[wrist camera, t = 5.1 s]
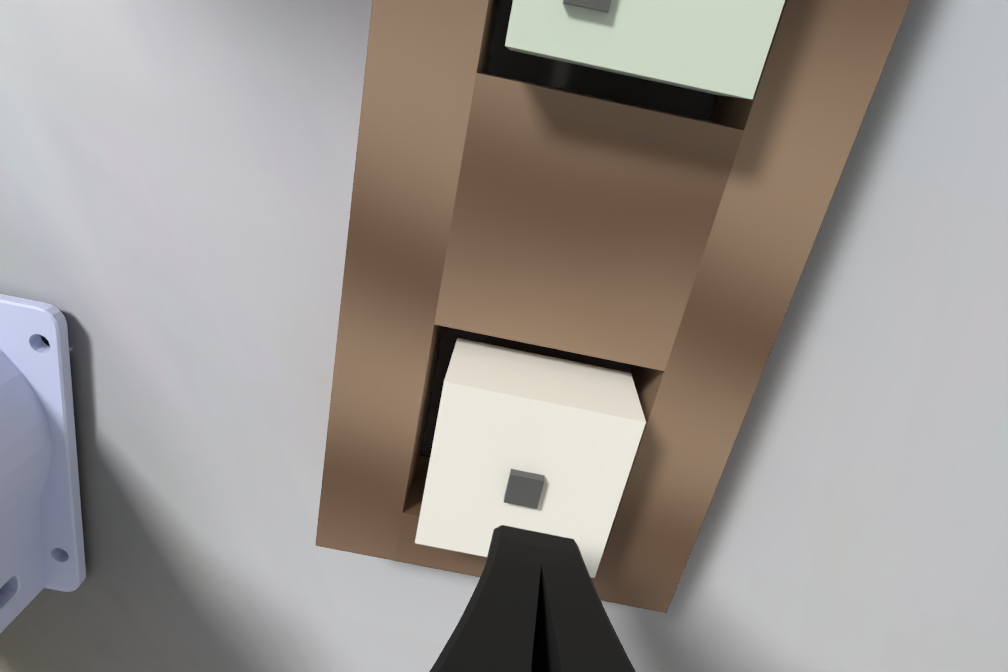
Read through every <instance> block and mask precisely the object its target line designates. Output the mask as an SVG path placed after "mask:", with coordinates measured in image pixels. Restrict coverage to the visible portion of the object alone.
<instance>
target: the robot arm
mask: <svg viewBox="0 0 1008 672" xmlns="http://www.w3.org/2000/svg"><path fill="white" fill-rule="evenodd" d="M40 335H42V336H44V337H45V338H46V339H47V340H48V341H49V344H50V346H48V345H46V344H45V343H44V342H43V341H42V339H41V336H40ZM85 578H86V567H85V554H84V541H83V527H82V514H81V501H80V488H79V474H78V461H77V448H76V435H75V422H74V408H73V395H72V382H71V369H70V355H69V342H68V329H67V322H66V319H65V317H64V315H63V314H62V313H61V311H60V310H58V309H57V308H56V307H55V306H53V305H50V304H47V303H44V302H39V301H34V300H29V299H24V298H19V297H14V296H9V295H4V294H0V633H1V632H2V631H3V630H4V629H5V628H6V627H7V626H8V625H9V624H10V623H11V622H12V621H13V620H14V619H15V618H16V617H17V616H18V615H19V614H20V613H21V612H22V611H23V610H24V608H25V607H26V606H27V605H28V604H29V603H30V602H31V601H32V600H33V599H34V598H35V597H36V596H37V595H38V594H39V593H40V592H41V591H42V590H43V589H44V588H47V589H52V590H58V591H63V592H71V591H74V590H76V589H77V588H78V587H79V586H80V585H81V584H82V583H83V582H84V580H85ZM430 672H635V670H634V668H633V666H632V664H631V662H630V660H629V658H628V656H627V654H626V652H625V650H624V648H623V646H622V644H621V642H620V640H619V638H618V636H617V634H616V632H615V630H614V628H613V626H612V624H611V622H610V620H609V618H608V616H607V614H606V612H605V609H604V607H603V605H602V603H601V601H600V598H599V596H598V594H597V592H596V589H595V587H594V585H593V582H592V580H591V578H590V575H589V573H588V570H587V568H586V565H585V563H584V560H583V558H582V555H581V552H580V550H579V547H578V545H577V544H576V542H575V541H574V539H571V538H566V537H560V536H555V535H550V534H545V533H540V532H535V531H530V530H525V529H520V528H515V527H510V526H505V525H501V526H499V527H497V528H495V529H494V531H493V535H492V539H491V543H490V547H489V551H488V556H487V560H486V564H485V567H484V570H483V572H482V575H481V577H480V580H479V582H478V584H477V587H476V589H475V591H474V593H473V595H472V597H471V599H470V601H469V603H468V605H467V607H466V609H465V611H464V613H463V615H462V617H461V619H460V621H459V623H458V625H457V626H456V628H455V630H454V632H453V633H452V635H451V637H450V638H449V640H448V642H447V644H446V645H445V647H444V649H443V651H442V652H441V654H440V656H439V657H438V659H437V661H436V662H435V664H434V666H433V667H432V669H431V670H430Z"/></svg>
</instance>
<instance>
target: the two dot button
mask: <svg viewBox="0 0 1008 672" xmlns="http://www.w3.org/2000/svg"><path fill="white" fill-rule="evenodd" d="M784 2H785V0H513V3H512V8H511V14H510V19H509V25H508V30H507V36H506V42H505V46H506V47H507V48H508V49H509V50H511V51H516V52H520V53H525V54H529V55H534V56H539V57H543V58H548V59H553V60H557V61H562V62H566V63H571V64H576V65H580V66H585V67H589V68H594V69H599V70H603V71H608V72H613V73H617V74H622V75H626V76H631V77H636V78H640V79H645V80H649V81H654V82H659V83H663V84H668V85H673V86H677V87H682V88H686V89H691V90H696V91H700V92H705V93H709V94H714V95H720V96H728V97H737V98H745V99H753V96H754V93H755V90H756V87H757V84H758V81H759V78H760V75H761V72H762V69H763V66H764V63H765V60H766V57H767V54H768V51H769V48H770V45H771V42H772V39H773V36H774V33H775V30H776V27H777V24H778V21H779V18H780V15H781V11H782V8H783V5H784Z"/></svg>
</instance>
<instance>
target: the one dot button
mask: <svg viewBox="0 0 1008 672" xmlns="http://www.w3.org/2000/svg"><path fill="white" fill-rule="evenodd" d="M645 424H646V420H645V417H644V414H643V411H642V407H641V404H640V401H639V398H638V394H637V391H636V388H635V385H634V381H633V378H632V375H631V373H629V372H624V371H619V370H614V369H609V368H604V367H599V366H594V365H589V364H584V363H579V362H574V361H570V360H565V359H560V358H555V357H550V356H545V355H540V354H535V353H530V352H525V351H520V350H515V349H510V348H505V347H501V346H496V345H491V344H486V343H481V342H476V341H471V340H466V339H461V338H457V341H456V344H455V347H454V350H453V354H452V357H451V360H450V363H449V367H448V370H447V373H446V376H445V380H444V384H443V389H442V395H441V400H440V406H439V411H438V417H437V422H436V428H435V433H434V439H433V444H432V450H431V456H430V461H429V467H428V472H427V478H426V483H425V489H424V494H423V500H422V505H421V511H420V516H419V522H418V527H417V533H416V538H415V543H416V544H421V545H427V546H432V547H437V548H442V549H447V550H453V551H458V552H463V553H468V554H473V555H478V556H484V557H487V556H488V551H489V547H490V543H491V539H492V535H493V531H494V529H495V528H497V527H499V526H501V525H505V526H510V527H515V528H520V529H525V530H530V531H535V532H540V533H545V534H550V535H555V536H560V537H566V538H571V539H574V541H575V542H576V544H577V545H578V547H579V550H580V552H581V555H582V558H583V560H584V563H585V565H586V568H587V570H588V573H589V575H590V577H592V578H595V576H596V572H597V569H598V566H599V563H600V560H601V557H602V554H603V551H604V548H605V545H606V542H607V539H608V536H609V533H610V530H611V527H612V524H613V521H614V518H615V515H616V512H617V509H618V506H619V503H620V500H621V497H622V494H623V491H624V488H625V485H626V482H627V478H628V475H629V472H630V469H631V466H632V463H633V460H634V457H635V454H636V451H637V448H638V445H639V442H640V439H641V436H642V433H643V430H644V427H645Z"/></svg>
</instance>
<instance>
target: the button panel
mask: <svg viewBox="0 0 1008 672" xmlns="http://www.w3.org/2000/svg"><path fill="white" fill-rule="evenodd" d="M909 2H910V0H785V2H784V5H783V8H782V11H781V15H780V18H779V21H778V24H777V27H776V30H775V33H774V36H773V39H772V42H771V45H770V48H769V51H768V54H767V57H766V60H765V63H764V66H763V69H762V72H761V75H760V78H759V81H758V84H757V87H756V90H755V93H754V96H753V99H745V98H737V97H728V96H720V95H718V97H717V101H716V104H715V107H714V110H713V114H712V117H711V120H710V121H707V120H703V119H698V118H693V117H689V116H684V115H680V114H675V113H670V112H666V111H661V110H656V109H652V108H647V107H642V106H638V105H633V104H628V103H624V102H619V101H614V100H610V99H605V98H601V97H596V96H591V95H587V94H582V93H577V92H573V91H568V90H563V89H559V88H554V87H549V86H545V85H540V84H536V83H531V82H526V81H522V80H517V79H512V78H508V77H503V76H498V75H494V74H489V73H487V69H488V63H489V58H490V52H491V46H492V40H493V35H494V29H495V23H496V17H497V12H498V6H499V0H373V1H372V10H371V20H370V29H369V39H368V49H367V58H366V68H365V77H364V87H363V96H362V106H361V116H360V125H359V135H358V144H357V154H356V163H355V173H354V183H353V192H352V202H351V211H350V221H349V230H348V240H347V250H346V259H345V269H344V278H343V288H342V297H341V307H340V316H339V326H338V336H337V345H336V355H335V364H334V374H333V383H332V393H331V403H330V412H329V422H328V431H327V441H326V450H325V460H324V470H323V479H322V489H321V498H320V508H319V517H318V527H317V537H316V546H321V547H326V548H331V549H336V550H342V551H347V552H352V553H357V554H362V555H368V556H373V557H378V558H383V559H389V560H394V561H399V562H404V563H409V564H415V565H420V566H425V567H430V568H435V569H441V570H446V571H451V572H456V573H461V574H467V575H472V576H477V577H481V575H482V572H483V570H484V567H485V564H486V560H487V557H484V556H478V555H473V554H468V553H463V552H458V551H453V550H447V549H442V548H437V547H432V546H427V545H421V544H416V543H415V538H416V533H417V527H418V522H419V516H420V511H421V505H422V500H423V494H424V489H425V483H426V478H427V472H428V467H429V461H430V457H426V456H421V449H422V443H423V437H424V432H425V426H426V420H427V414H428V409H429V403H430V397H431V391H432V386H433V380H434V374H435V368H436V363H437V357H438V351H439V345H440V340H441V334H442V328H443V326H444V327H449V328H454V329H459V330H464V331H469V332H474V333H479V334H484V335H489V336H494V337H499V338H504V339H508V340H513V341H518V342H523V343H528V344H533V345H538V346H543V347H548V348H553V349H558V350H563V351H567V352H572V353H577V354H582V355H587V356H592V357H597V358H602V359H607V360H612V361H617V362H622V363H626V364H631V365H635V366H634V369H633V372H632V378H633V381H634V385H635V388H636V391H637V394H638V398H639V401H640V404H641V407H642V411H643V414H644V417H645V420H646V424H645V427H644V430H643V433H642V436H641V439H640V442H639V445H638V448H637V451H636V454H635V457H634V460H633V463H632V466H631V469H630V472H629V475H628V478H627V482H626V485H625V488H624V491H623V494H622V497H621V500H620V503H619V506H618V509H617V512H616V515H615V518H614V521H613V524H612V527H611V530H610V533H609V536H608V539H607V542H606V545H605V548H604V551H603V554H602V557H601V560H600V563H599V566H598V569H597V572H596V576H595V578H592V577H590V578H591V580H592V582H593V585H594V587H595V589H596V592H597V594H598V596H599V598H600V600H602V601H607V602H612V603H618V604H623V605H628V606H633V607H638V608H644V609H649V610H654V611H659V612H664V613H667V610H668V608H669V605H670V603H671V600H672V598H673V595H674V593H675V590H676V588H677V585H678V583H679V580H680V578H681V575H682V573H683V570H684V568H685V565H686V562H687V560H688V557H689V555H690V552H691V550H692V547H693V545H694V542H695V540H696V537H697V535H698V532H699V530H700V527H701V525H702V522H703V520H704V517H705V515H706V512H707V510H708V507H709V505H710V502H711V500H712V497H713V495H714V492H715V490H716V487H717V485H718V482H719V480H720V477H721V475H722V472H723V470H724V467H725V465H726V462H727V459H728V457H729V454H730V452H731V449H732V447H733V444H734V442H735V439H736V437H737V434H738V432H739V429H740V427H741V424H742V422H743V419H744V417H745V414H746V412H747V409H748V407H749V404H750V402H751V399H752V397H753V394H754V392H755V389H756V387H757V384H758V382H759V379H760V377H761V374H762V372H763V369H764V367H765V364H766V362H767V359H768V356H769V354H770V351H771V349H772V346H773V344H774V341H775V339H776V336H777V334H778V331H779V329H780V326H781V324H782V321H783V319H784V316H785V314H786V311H787V309H788V306H789V304H790V301H791V299H792V296H793V294H794V291H795V289H796V286H797V284H798V281H799V279H800V276H801V274H802V271H803V269H804V266H805V264H806V261H807V259H808V256H809V253H810V251H811V248H812V246H813V243H814V241H815V238H816V236H817V233H818V231H819V228H820V226H821V223H822V221H823V218H824V216H825V213H826V211H827V208H828V206H829V203H830V201H831V198H832V196H833V193H834V191H835V188H836V186H837V183H838V181H839V178H840V176H841V173H842V171H843V168H844V166H845V163H846V161H847V158H848V155H849V153H850V150H851V148H852V145H853V143H854V140H855V138H856V135H857V133H858V130H859V128H860V125H861V123H862V120H863V118H864V115H865V113H866V110H867V108H868V105H869V103H870V100H871V98H872V95H873V93H874V90H875V88H876V85H877V83H878V80H879V78H880V75H881V73H882V70H883V68H884V65H885V63H886V60H887V58H888V55H889V52H890V50H891V47H892V45H893V42H894V40H895V37H896V35H897V32H898V30H899V27H900V25H901V22H902V20H903V17H904V15H905V12H906V10H907V7H908V5H909Z"/></svg>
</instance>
